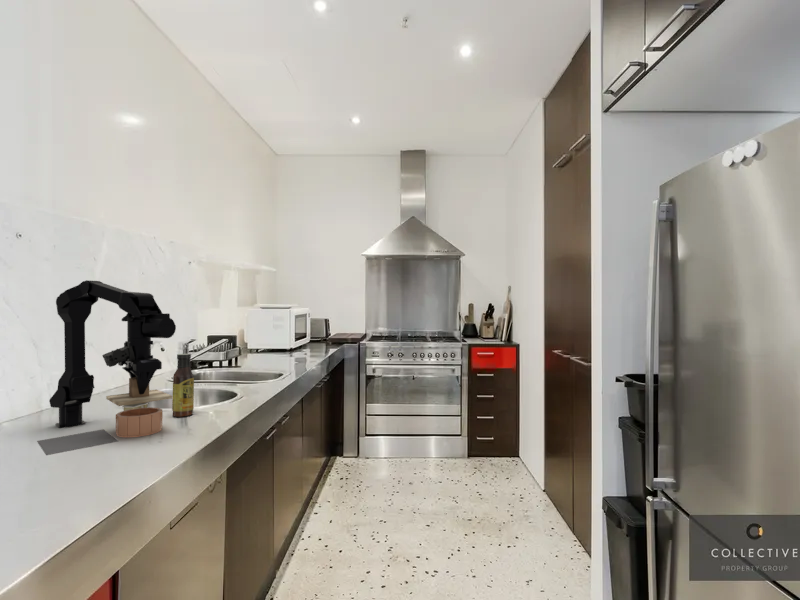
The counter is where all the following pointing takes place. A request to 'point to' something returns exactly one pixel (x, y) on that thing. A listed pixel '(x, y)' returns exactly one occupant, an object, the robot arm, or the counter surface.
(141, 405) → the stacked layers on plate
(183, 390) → the sauce bottle
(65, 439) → the mat
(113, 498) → the counter surface
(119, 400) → the lid
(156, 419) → the bowl
